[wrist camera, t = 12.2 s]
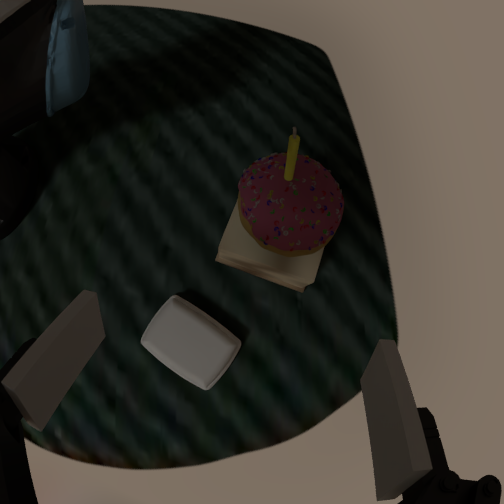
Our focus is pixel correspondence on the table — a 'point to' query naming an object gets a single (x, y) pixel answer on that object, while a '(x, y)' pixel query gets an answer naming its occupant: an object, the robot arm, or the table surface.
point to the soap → (190, 342)
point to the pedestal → (265, 258)
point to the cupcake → (290, 202)
